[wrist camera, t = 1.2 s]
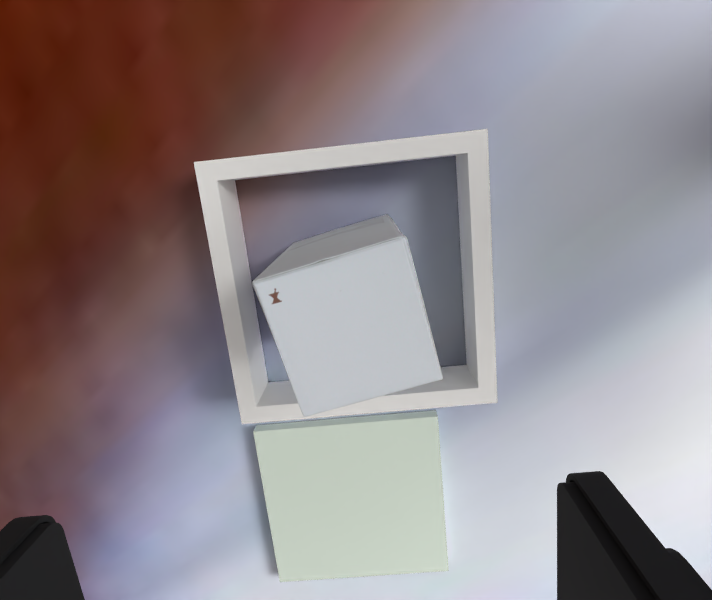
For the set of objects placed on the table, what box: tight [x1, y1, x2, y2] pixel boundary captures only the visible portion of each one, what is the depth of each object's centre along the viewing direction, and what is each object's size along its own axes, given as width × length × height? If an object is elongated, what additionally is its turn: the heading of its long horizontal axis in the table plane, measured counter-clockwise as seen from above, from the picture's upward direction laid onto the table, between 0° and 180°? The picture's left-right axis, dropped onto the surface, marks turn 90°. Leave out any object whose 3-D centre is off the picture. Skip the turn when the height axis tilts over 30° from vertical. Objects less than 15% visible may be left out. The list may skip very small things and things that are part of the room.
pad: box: [253, 410, 449, 582], centre depth 38 cm, size 14×14×1 cm
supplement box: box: [252, 214, 443, 417], centre depth 28 cm, size 7×7×13 cm
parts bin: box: [194, 129, 497, 424], centre depth 32 cm, size 17×17×4 cm
